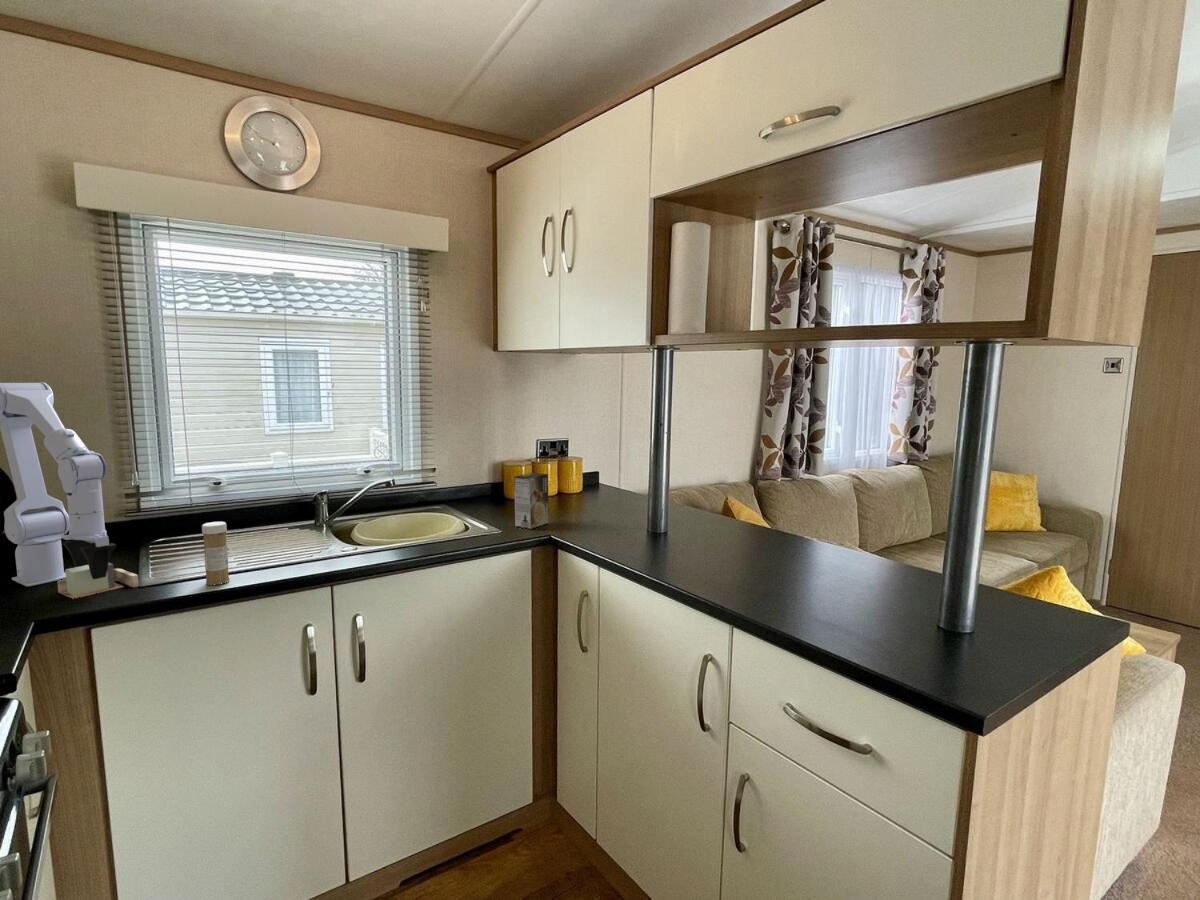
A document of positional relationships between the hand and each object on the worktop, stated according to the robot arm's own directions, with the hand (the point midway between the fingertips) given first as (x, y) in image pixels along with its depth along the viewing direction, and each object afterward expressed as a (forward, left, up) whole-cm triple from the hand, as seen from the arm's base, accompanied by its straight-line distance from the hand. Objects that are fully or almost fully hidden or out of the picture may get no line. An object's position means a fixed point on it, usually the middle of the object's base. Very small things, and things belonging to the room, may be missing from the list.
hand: (91, 574), depth 134 cm
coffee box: (+41, +98, -4) cm, 106 cm away
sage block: (0, 0, -3) cm, 3 cm away
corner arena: (0, +1, -3) cm, 4 cm away
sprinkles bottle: (+17, +17, -4) cm, 24 cm away
